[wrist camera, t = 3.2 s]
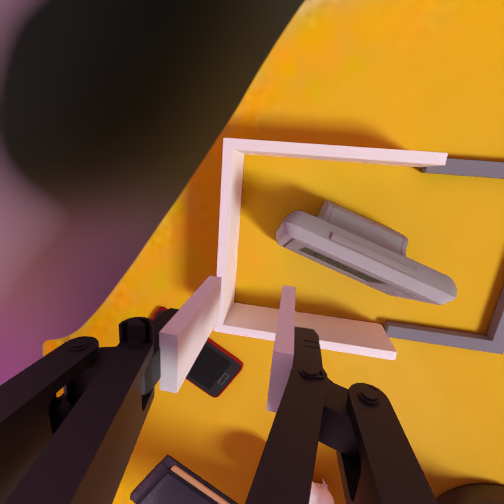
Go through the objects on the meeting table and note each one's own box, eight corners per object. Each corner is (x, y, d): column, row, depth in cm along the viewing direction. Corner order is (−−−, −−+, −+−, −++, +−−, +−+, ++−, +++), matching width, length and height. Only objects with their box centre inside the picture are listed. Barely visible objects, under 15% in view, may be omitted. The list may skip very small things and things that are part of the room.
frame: (562, 167, 28) (573, 167, 27) (495, 348, 34) (502, 354, 33) (424, 157, 30) (429, 157, 29) (383, 331, 36) (386, 336, 35)
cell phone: (217, 395, 43) (216, 400, 42) (138, 339, 43) (135, 343, 42) (246, 362, 41) (244, 366, 40) (162, 303, 40) (159, 306, 39)
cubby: (419, 157, 30) (448, 153, 24) (379, 330, 36) (394, 360, 30) (236, 144, 33) (223, 137, 27) (226, 308, 38) (213, 331, 33)
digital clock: (268, 234, 35) (256, 258, 25) (314, 171, 32) (321, 170, 22) (373, 309, 35) (403, 363, 25) (427, 254, 33) (485, 289, 22)
